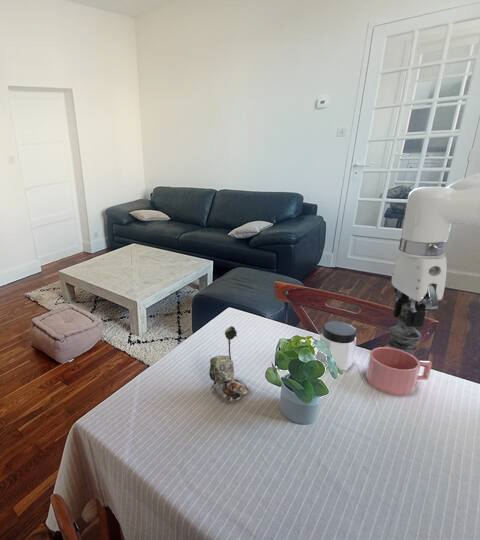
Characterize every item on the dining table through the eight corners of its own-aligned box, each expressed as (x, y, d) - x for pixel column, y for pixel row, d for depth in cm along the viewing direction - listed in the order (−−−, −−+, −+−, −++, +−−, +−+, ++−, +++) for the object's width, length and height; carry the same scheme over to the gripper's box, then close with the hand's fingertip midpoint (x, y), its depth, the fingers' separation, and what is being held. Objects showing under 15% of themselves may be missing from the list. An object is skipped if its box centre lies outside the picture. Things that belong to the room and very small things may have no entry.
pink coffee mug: (378, 396, 88) (383, 370, 85) (358, 370, 97) (362, 347, 94) (440, 397, 85) (447, 371, 82) (413, 371, 95) (419, 347, 92)
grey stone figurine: (389, 335, 85) (396, 292, 80) (420, 343, 81) (429, 297, 76) (384, 346, 81) (392, 302, 77) (417, 355, 77) (427, 308, 73)
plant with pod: (203, 386, 98) (201, 327, 91) (240, 380, 99) (241, 320, 92) (213, 406, 90) (212, 343, 83) (253, 399, 91) (256, 335, 84)
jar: (349, 357, 103) (355, 323, 99) (354, 373, 96) (360, 337, 92) (316, 352, 107) (320, 319, 103) (318, 368, 100) (322, 333, 96)
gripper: (475, 257, 64) (453, 340, 70) (415, 234, 79) (402, 304, 86) (430, 260, 65) (413, 341, 71) (380, 237, 80) (369, 305, 87)
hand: (407, 320), depth 78 cm, fingers closed on grey stone figurine, 3 cm apart
